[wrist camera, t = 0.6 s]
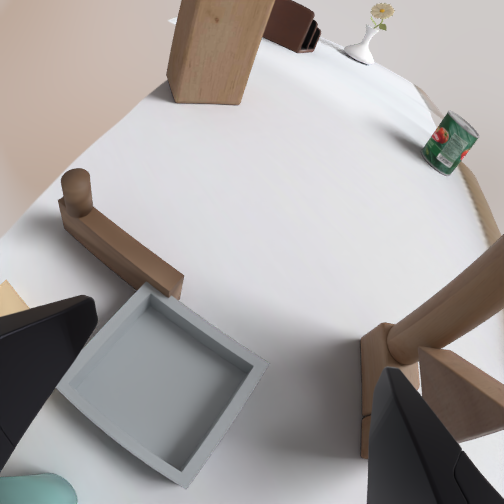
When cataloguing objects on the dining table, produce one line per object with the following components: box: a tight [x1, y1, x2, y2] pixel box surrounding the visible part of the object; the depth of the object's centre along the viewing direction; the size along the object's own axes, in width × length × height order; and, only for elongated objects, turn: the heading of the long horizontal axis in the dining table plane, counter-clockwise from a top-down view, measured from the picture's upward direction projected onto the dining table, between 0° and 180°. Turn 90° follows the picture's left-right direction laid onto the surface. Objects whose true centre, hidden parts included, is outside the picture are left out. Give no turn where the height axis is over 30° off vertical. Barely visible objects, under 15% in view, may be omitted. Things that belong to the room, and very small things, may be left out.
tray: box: [56, 281, 270, 489], centre depth 19 cm, size 10×10×2 cm
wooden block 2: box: [360, 234, 504, 459], centre depth 16 cm, size 4×11×18 cm, turn 174°
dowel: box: [0, 473, 77, 504], centre depth 10 cm, size 3×3×7 cm
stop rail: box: [58, 168, 184, 301], centre depth 22 cm, size 2×12×6 cm, turn 59°
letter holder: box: [262, 0, 321, 53], centre depth 72 cm, size 10×20×14 cm, turn 53°
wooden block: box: [166, 0, 275, 105], centre depth 37 cm, size 10×10×20 cm
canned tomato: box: [421, 111, 479, 176], centre depth 52 cm, size 8×8×11 cm
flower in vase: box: [344, 3, 395, 64], centre depth 81 cm, size 13×11×25 cm
